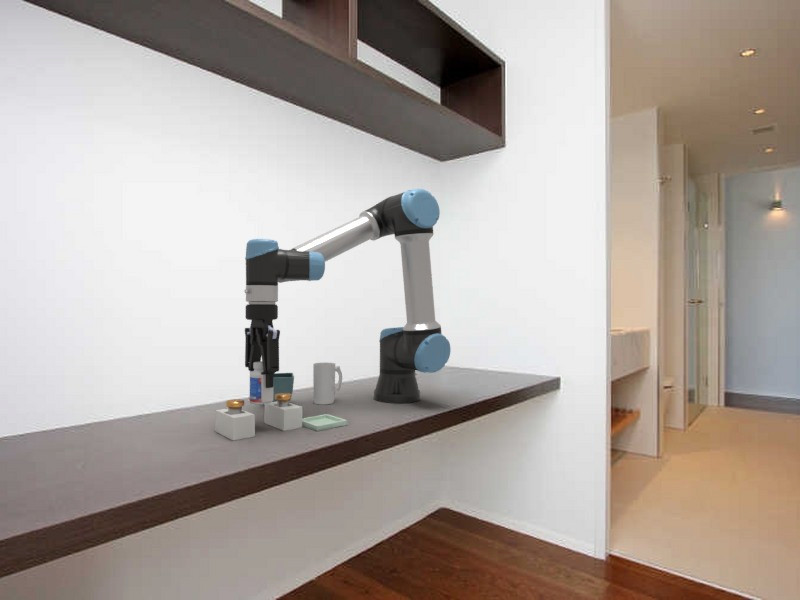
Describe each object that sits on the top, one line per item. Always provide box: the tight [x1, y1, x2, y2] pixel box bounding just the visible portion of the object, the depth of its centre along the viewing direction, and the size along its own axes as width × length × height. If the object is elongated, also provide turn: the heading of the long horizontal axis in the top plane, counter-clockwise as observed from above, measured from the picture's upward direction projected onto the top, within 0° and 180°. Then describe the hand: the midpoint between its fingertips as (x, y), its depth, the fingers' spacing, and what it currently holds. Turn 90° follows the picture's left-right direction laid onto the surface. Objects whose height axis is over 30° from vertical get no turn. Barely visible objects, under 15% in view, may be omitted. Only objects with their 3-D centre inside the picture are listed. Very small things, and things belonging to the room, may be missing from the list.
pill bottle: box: [249, 360, 272, 405], centre depth 113 cm, size 6×5×10 cm
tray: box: [302, 413, 348, 432], centre depth 118 cm, size 9×9×1 cm
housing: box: [214, 401, 304, 441], centre depth 113 cm, size 18×10×5 cm, turn 133°
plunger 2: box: [275, 393, 293, 407], centre depth 117 cm, size 4×4×7 cm
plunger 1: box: [225, 398, 245, 415], centre depth 109 cm, size 4×4×7 cm
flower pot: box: [272, 372, 295, 402], centre depth 141 cm, size 9×9×9 cm
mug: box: [312, 362, 343, 405], centre depth 146 cm, size 10×7×12 cm, turn 132°
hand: (261, 399), depth 113 cm, fingers closed on pill bottle, 5 cm apart
